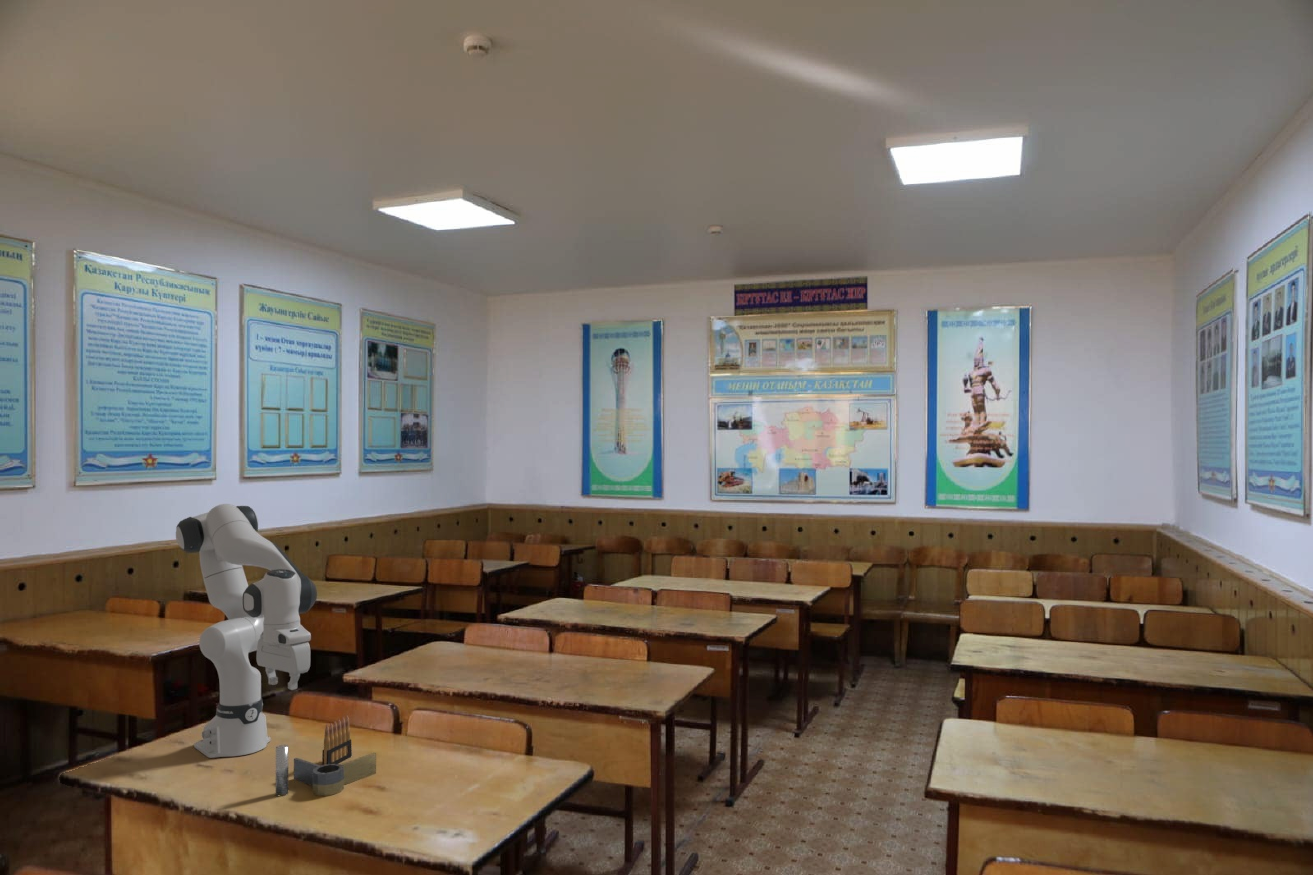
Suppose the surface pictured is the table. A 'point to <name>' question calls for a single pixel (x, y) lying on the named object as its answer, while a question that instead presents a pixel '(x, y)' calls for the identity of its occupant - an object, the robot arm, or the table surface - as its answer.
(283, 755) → the hinge pin
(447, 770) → the table surface
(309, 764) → the steel leaf
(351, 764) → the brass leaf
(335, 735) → the ammunition clip
